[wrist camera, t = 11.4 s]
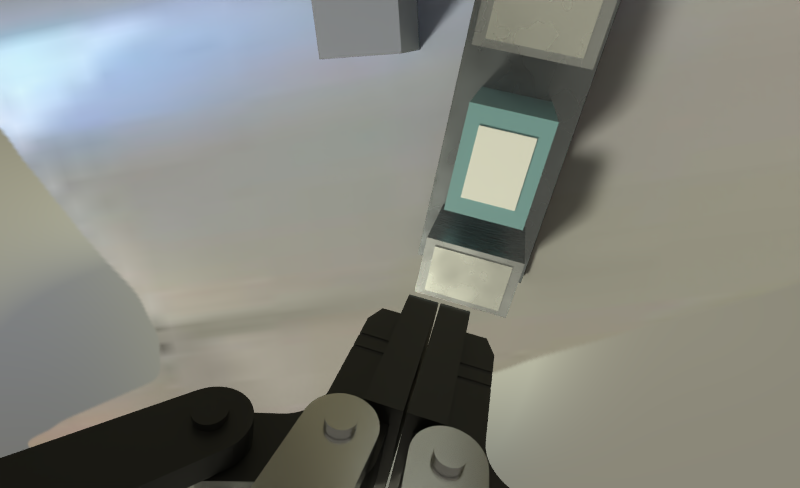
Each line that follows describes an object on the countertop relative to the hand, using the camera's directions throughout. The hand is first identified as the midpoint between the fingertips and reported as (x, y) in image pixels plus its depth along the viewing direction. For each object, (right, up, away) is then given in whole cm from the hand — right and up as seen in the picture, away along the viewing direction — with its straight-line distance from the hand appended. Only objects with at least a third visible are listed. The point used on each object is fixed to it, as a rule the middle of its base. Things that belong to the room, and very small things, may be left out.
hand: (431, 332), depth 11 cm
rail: (+6, +9, +20) cm, 23 cm away
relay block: (-2, +17, +19) cm, 26 cm away
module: (+6, +9, +19) cm, 22 cm away
